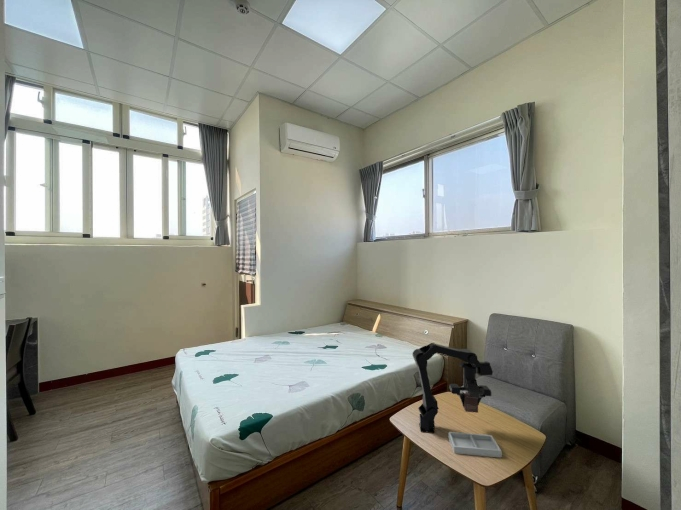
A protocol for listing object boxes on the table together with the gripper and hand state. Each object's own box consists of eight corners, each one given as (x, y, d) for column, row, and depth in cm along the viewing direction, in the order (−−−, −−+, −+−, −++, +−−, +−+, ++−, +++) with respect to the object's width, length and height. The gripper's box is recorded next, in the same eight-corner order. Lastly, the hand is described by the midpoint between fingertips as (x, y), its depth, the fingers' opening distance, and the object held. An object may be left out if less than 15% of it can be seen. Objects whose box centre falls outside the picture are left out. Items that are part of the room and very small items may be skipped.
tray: (454, 453, 120) (454, 446, 120) (448, 437, 130) (448, 431, 130) (501, 457, 117) (501, 451, 117) (491, 441, 127) (491, 435, 127)
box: (478, 413, 133) (478, 398, 134) (465, 412, 134) (465, 397, 135) (474, 406, 139) (474, 392, 140) (462, 405, 140) (462, 391, 141)
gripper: (454, 381, 131) (455, 414, 130) (495, 383, 128) (496, 417, 128) (448, 372, 142) (449, 402, 141) (486, 374, 139) (487, 404, 139)
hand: (470, 406), depth 137 cm, fingers closed on box, 6 cm apart
